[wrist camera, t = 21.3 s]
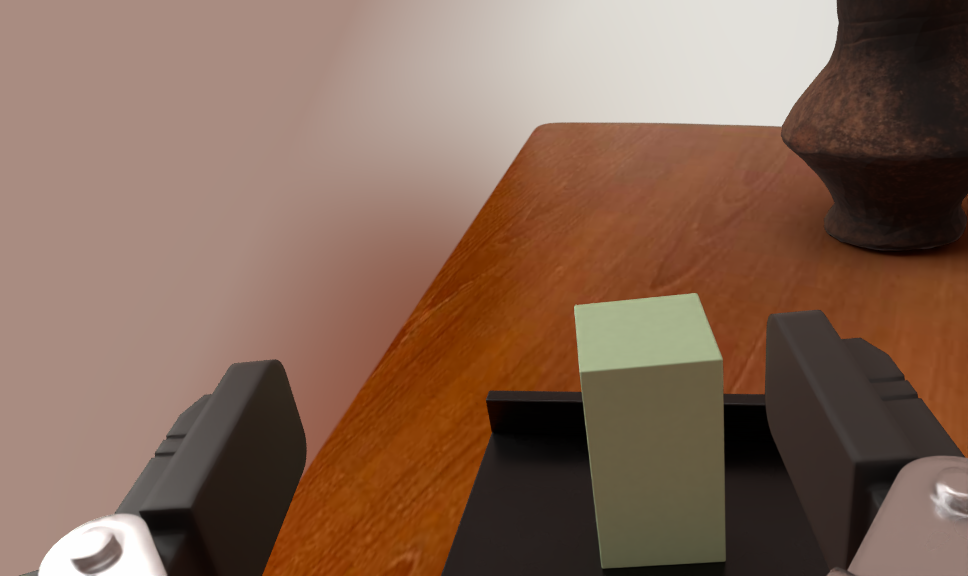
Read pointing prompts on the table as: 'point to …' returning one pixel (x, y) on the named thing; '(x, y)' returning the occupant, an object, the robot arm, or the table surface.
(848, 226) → the jug
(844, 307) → the table surface
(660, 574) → the bench
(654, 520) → the block
